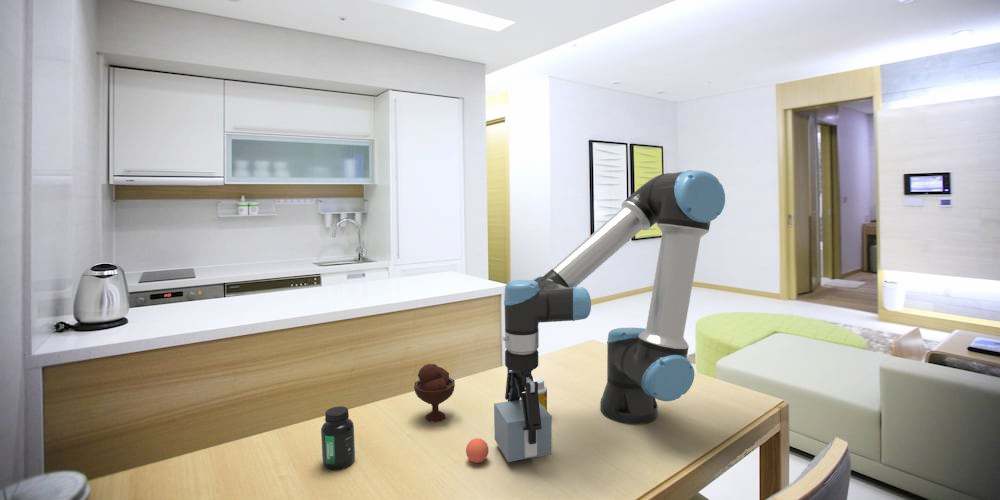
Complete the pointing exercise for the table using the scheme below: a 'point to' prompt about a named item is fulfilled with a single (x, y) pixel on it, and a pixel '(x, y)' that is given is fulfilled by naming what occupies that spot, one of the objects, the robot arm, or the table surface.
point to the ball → (477, 450)
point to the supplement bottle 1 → (337, 439)
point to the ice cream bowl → (434, 389)
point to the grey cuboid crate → (519, 430)
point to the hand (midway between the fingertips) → (522, 443)
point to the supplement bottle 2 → (541, 391)
